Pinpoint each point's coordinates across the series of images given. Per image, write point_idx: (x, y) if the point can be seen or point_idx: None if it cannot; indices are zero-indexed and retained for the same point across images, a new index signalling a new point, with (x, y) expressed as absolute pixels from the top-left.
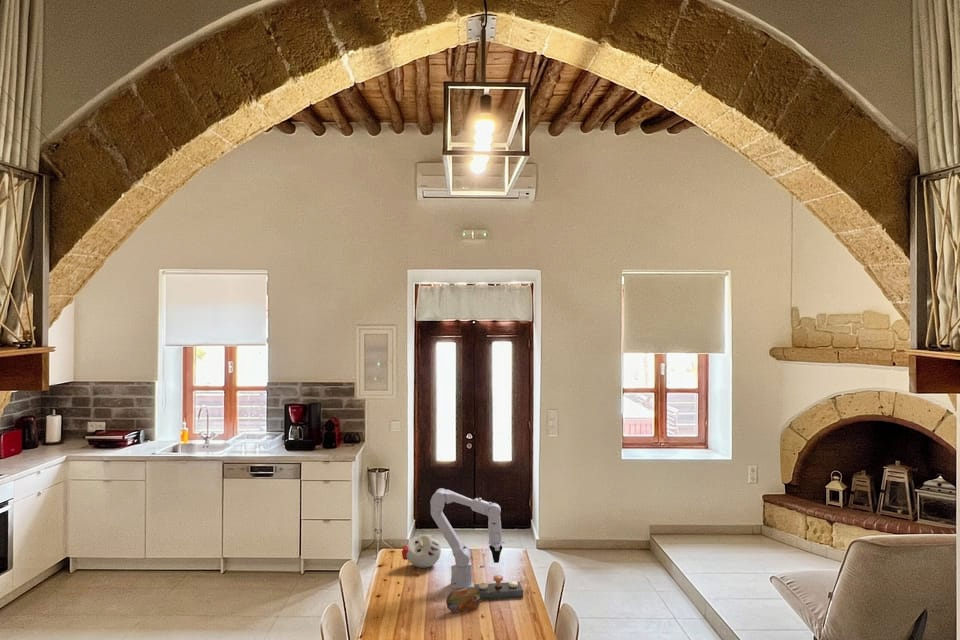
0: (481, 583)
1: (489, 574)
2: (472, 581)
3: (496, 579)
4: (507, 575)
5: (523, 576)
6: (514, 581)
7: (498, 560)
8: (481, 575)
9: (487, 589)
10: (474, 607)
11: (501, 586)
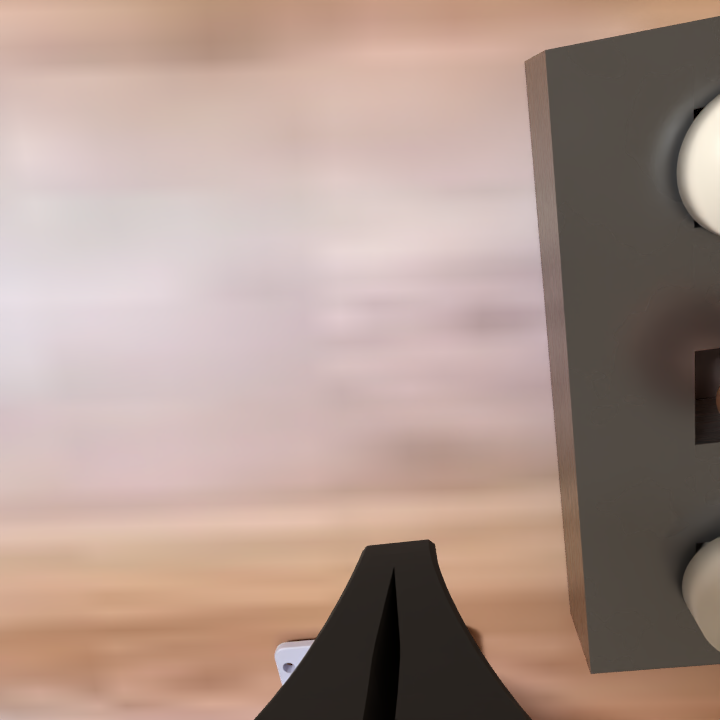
0: (714, 632)
1: (32, 476)
2: (310, 645)
3: None
4: (23, 258)
5: (16, 12)
6: (711, 140)
7: (439, 575)
8: (80, 557)
9: None
10: None
11: (703, 348)
